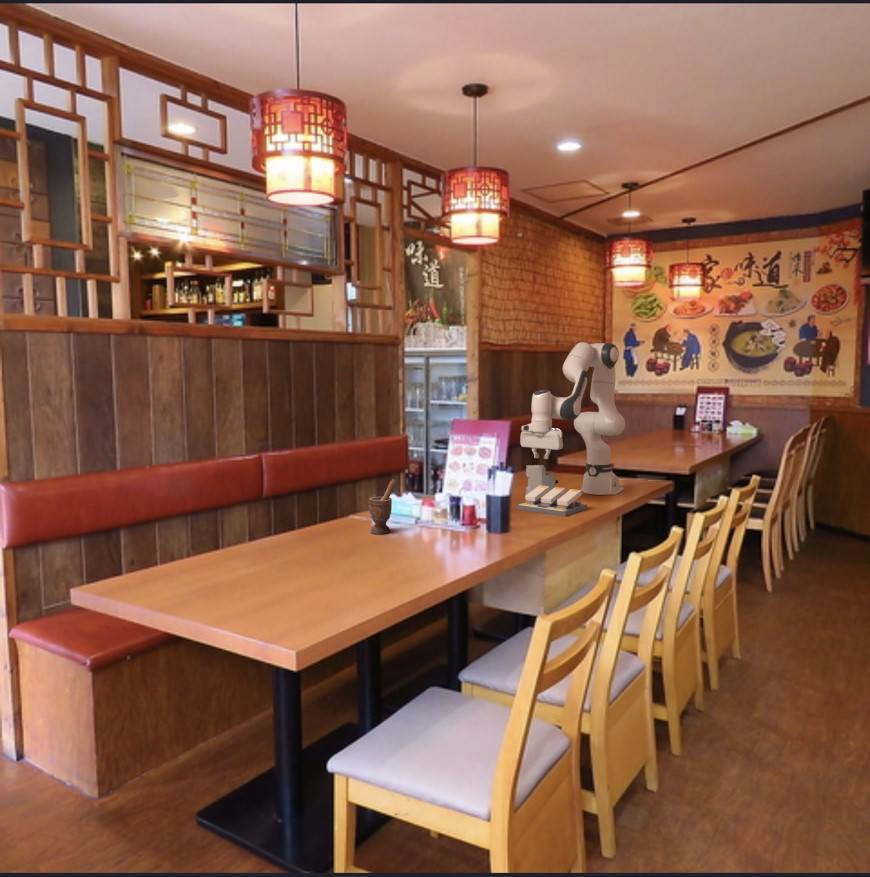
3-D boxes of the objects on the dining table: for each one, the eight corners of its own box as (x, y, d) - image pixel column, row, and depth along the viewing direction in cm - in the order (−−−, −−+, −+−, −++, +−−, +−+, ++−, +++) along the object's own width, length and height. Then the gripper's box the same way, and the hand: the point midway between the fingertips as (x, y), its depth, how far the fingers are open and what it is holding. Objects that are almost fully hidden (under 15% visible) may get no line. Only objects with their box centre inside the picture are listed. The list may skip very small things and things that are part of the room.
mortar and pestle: (384, 527, 288) (383, 476, 286) (401, 529, 283) (400, 478, 281) (365, 533, 278) (363, 481, 276) (382, 536, 273) (381, 483, 271)
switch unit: (539, 502, 332) (539, 492, 332) (586, 509, 316) (587, 498, 316) (517, 509, 318) (517, 498, 318) (565, 516, 303) (565, 505, 302)
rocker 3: (571, 493, 318) (570, 488, 318) (581, 494, 315) (581, 490, 315) (557, 504, 310) (556, 499, 309) (567, 506, 307) (567, 501, 306)
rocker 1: (540, 489, 329) (539, 484, 328) (549, 490, 326) (549, 486, 325) (525, 500, 320) (524, 495, 320) (535, 501, 317) (534, 496, 317)
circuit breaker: (558, 499, 339) (558, 467, 337) (527, 499, 339) (527, 467, 338) (556, 496, 346) (556, 465, 345) (526, 496, 347) (526, 465, 345)
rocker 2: (555, 491, 324) (554, 486, 323) (565, 492, 320) (564, 488, 320) (541, 502, 315) (540, 497, 315) (551, 503, 312) (550, 499, 311)
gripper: (565, 427, 317) (565, 459, 319) (526, 425, 331) (526, 455, 332) (558, 429, 313) (558, 461, 314) (518, 426, 326) (518, 457, 327)
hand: (541, 458), depth 323 cm, fingers open, 3 cm apart
